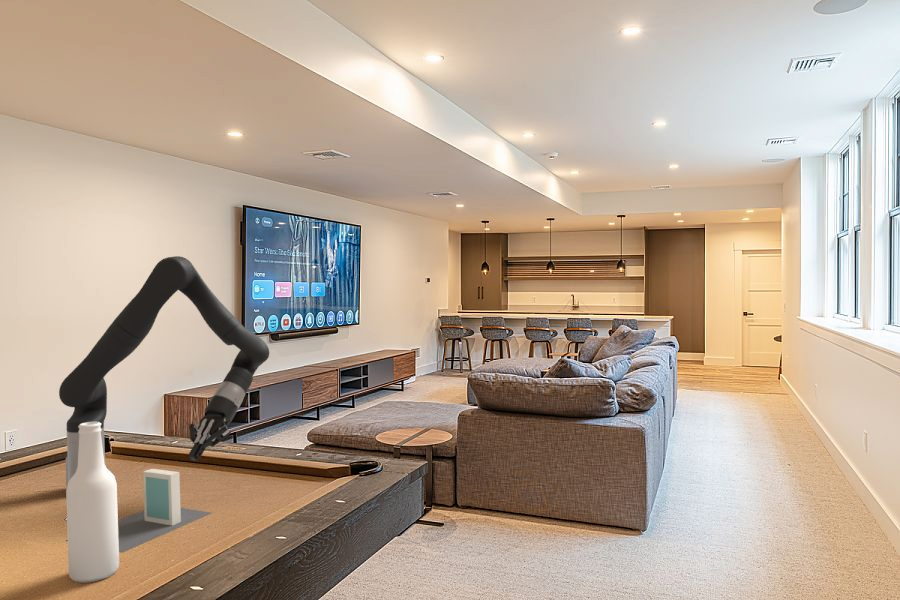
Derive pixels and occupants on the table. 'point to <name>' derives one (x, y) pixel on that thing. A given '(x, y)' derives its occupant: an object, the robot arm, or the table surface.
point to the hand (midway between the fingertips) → (192, 458)
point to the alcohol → (92, 512)
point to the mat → (149, 528)
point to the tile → (162, 496)
